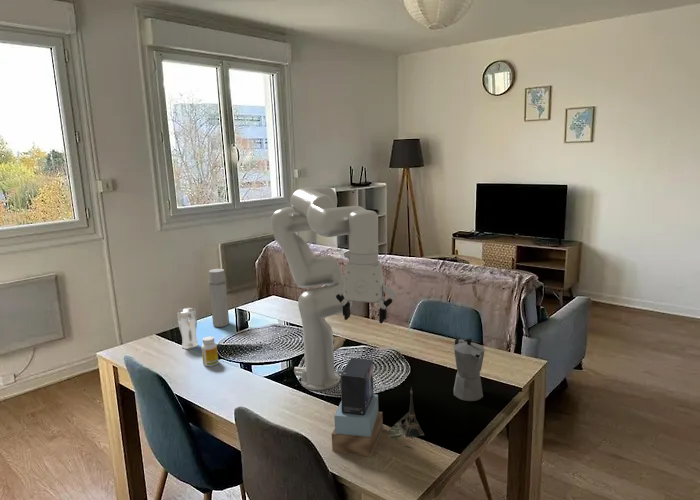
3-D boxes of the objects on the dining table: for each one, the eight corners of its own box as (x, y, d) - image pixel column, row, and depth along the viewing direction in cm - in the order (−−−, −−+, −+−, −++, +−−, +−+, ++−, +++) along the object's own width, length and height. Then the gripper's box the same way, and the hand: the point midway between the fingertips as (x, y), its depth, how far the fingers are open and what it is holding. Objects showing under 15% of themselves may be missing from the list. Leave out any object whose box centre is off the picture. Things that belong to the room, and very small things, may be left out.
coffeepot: (493, 402, 143) (494, 345, 139) (463, 407, 141) (464, 349, 137) (469, 379, 158) (469, 326, 154) (442, 383, 156) (442, 330, 152)
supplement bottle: (221, 361, 178) (219, 336, 176) (211, 367, 173) (209, 342, 171) (210, 359, 180) (207, 334, 178) (200, 365, 175) (197, 340, 173)
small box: (366, 416, 120) (364, 377, 118) (340, 413, 122) (339, 375, 119) (375, 395, 130) (374, 358, 128) (351, 393, 132) (350, 357, 129)
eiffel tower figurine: (407, 413, 140) (407, 370, 137) (440, 424, 134) (440, 379, 131) (379, 439, 128) (378, 393, 125) (414, 452, 122) (413, 403, 119)
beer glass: (177, 348, 191) (172, 312, 188) (189, 341, 198) (185, 306, 195) (191, 350, 189) (187, 313, 186) (202, 343, 195) (199, 308, 192)
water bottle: (228, 327, 212) (222, 272, 207) (210, 328, 212) (204, 272, 207) (233, 320, 221) (228, 267, 216) (216, 320, 221) (211, 267, 216)
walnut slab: (332, 451, 123) (331, 433, 122) (347, 424, 135) (347, 407, 134) (370, 457, 120) (370, 439, 119) (382, 428, 132) (382, 412, 131)
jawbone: (344, 338, 199) (345, 333, 198) (347, 359, 179) (347, 354, 178) (322, 337, 198) (323, 332, 198) (323, 359, 178) (323, 353, 178)
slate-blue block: (335, 433, 122) (334, 415, 121) (346, 408, 133) (345, 392, 132) (370, 437, 120) (369, 418, 119) (378, 411, 131) (377, 394, 130)
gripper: (327, 259, 125) (329, 321, 129) (393, 263, 120) (393, 328, 124) (336, 252, 132) (338, 312, 136) (399, 256, 127) (399, 317, 131)
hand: (364, 319), depth 130 cm, fingers open, 9 cm apart
